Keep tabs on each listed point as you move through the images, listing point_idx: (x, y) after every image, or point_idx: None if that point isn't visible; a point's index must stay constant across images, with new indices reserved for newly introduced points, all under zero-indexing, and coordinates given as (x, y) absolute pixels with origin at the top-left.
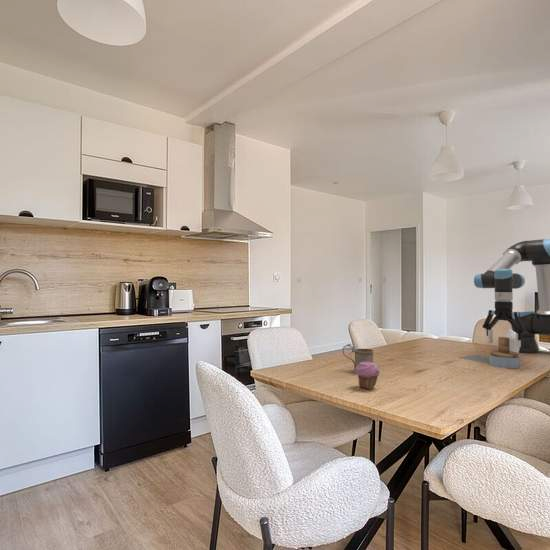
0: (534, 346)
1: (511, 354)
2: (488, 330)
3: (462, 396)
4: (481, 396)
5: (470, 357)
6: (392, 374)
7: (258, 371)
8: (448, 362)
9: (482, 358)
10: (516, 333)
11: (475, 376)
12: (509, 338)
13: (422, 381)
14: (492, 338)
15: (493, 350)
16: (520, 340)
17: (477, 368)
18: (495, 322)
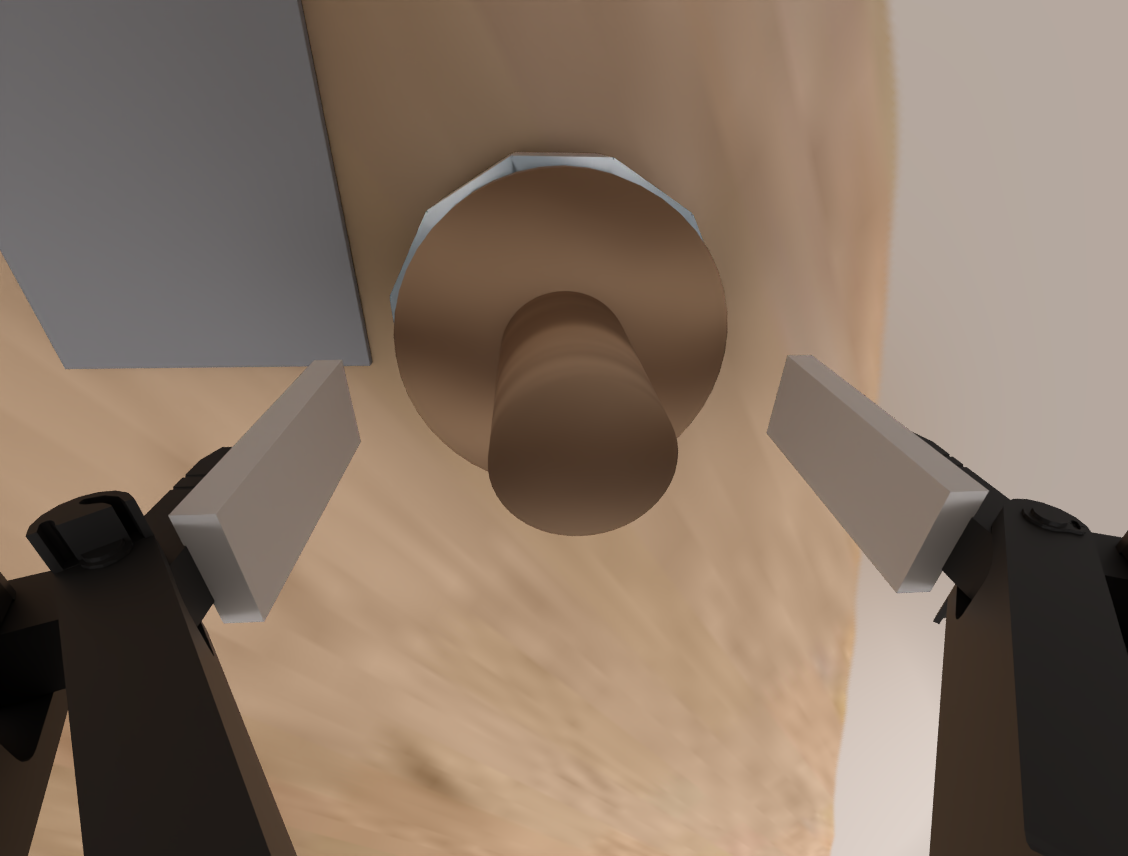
0: None
1: (686, 405)
2: (246, 614)
3: (753, 833)
4: (792, 807)
5: (74, 235)
6: (441, 850)
7: None
8: None
9: (163, 151)
10: (912, 590)
11: (637, 683)
12: (670, 422)
13: (574, 831)
14: (314, 405)
15: (403, 340)
16: (871, 410)
17: (513, 553)
18: (274, 825)
